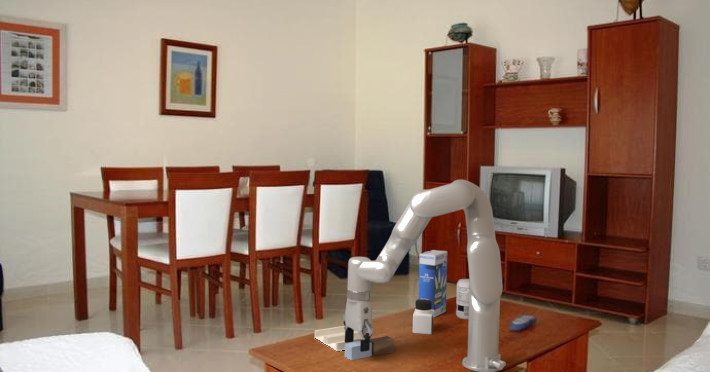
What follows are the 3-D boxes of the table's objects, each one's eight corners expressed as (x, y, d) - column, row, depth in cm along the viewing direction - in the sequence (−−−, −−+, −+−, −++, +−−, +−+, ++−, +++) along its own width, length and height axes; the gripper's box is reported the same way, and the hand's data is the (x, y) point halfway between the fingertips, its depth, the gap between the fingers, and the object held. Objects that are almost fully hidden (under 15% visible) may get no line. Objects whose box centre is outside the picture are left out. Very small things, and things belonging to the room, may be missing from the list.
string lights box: (433, 318, 241) (435, 255, 240) (416, 315, 245) (418, 253, 244) (446, 311, 252) (448, 251, 251) (430, 308, 256) (431, 249, 255)
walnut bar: (393, 352, 200) (394, 339, 200) (374, 356, 196) (374, 342, 195) (386, 348, 203) (387, 335, 203) (367, 352, 199) (367, 339, 199)
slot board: (372, 345, 206) (372, 337, 206) (337, 352, 199) (337, 343, 198) (347, 332, 220) (348, 325, 219) (314, 338, 212) (314, 330, 212)
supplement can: (452, 314, 247) (453, 279, 246) (470, 313, 249) (471, 278, 248) (461, 320, 239) (462, 283, 238) (479, 318, 241) (480, 282, 241)
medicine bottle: (431, 334, 219) (432, 302, 219) (412, 333, 221) (413, 301, 220) (433, 329, 226) (433, 298, 226) (414, 327, 228) (415, 297, 227)
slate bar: (371, 356, 195) (371, 343, 195) (351, 361, 191) (351, 347, 191) (364, 352, 199) (364, 339, 198) (344, 357, 194) (344, 343, 194)
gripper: (383, 300, 188) (381, 352, 189) (354, 288, 203) (352, 337, 204) (363, 302, 184) (361, 356, 185) (335, 290, 199) (333, 340, 200)
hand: (356, 346), depth 195 cm, fingers open, 9 cm apart
